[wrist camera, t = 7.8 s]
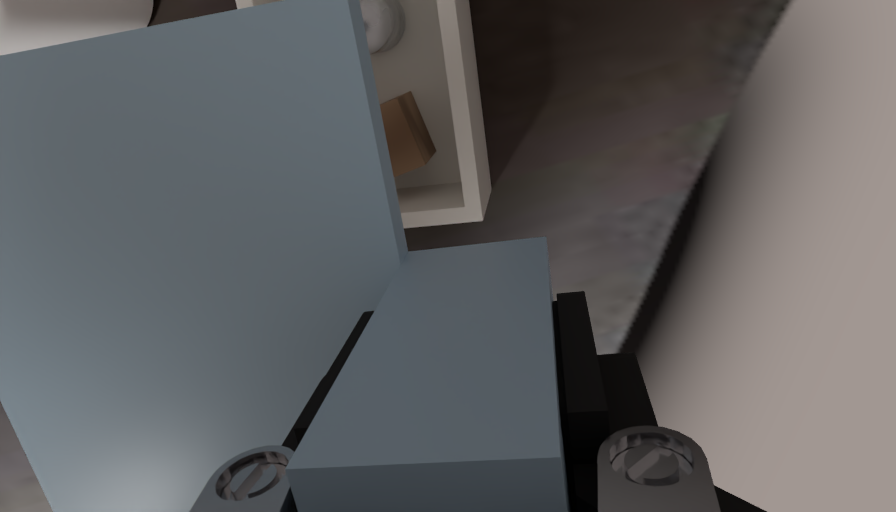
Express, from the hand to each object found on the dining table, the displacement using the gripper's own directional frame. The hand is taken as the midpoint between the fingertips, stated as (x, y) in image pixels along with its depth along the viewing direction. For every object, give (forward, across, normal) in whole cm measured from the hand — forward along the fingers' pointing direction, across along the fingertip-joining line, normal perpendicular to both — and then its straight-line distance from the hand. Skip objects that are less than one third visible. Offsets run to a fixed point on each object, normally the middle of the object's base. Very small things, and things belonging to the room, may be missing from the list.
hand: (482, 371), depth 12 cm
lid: (+2, +6, 0) cm, 6 cm away
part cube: (+23, +7, -2) cm, 24 cm away
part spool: (+23, +6, -8) cm, 25 cm away
